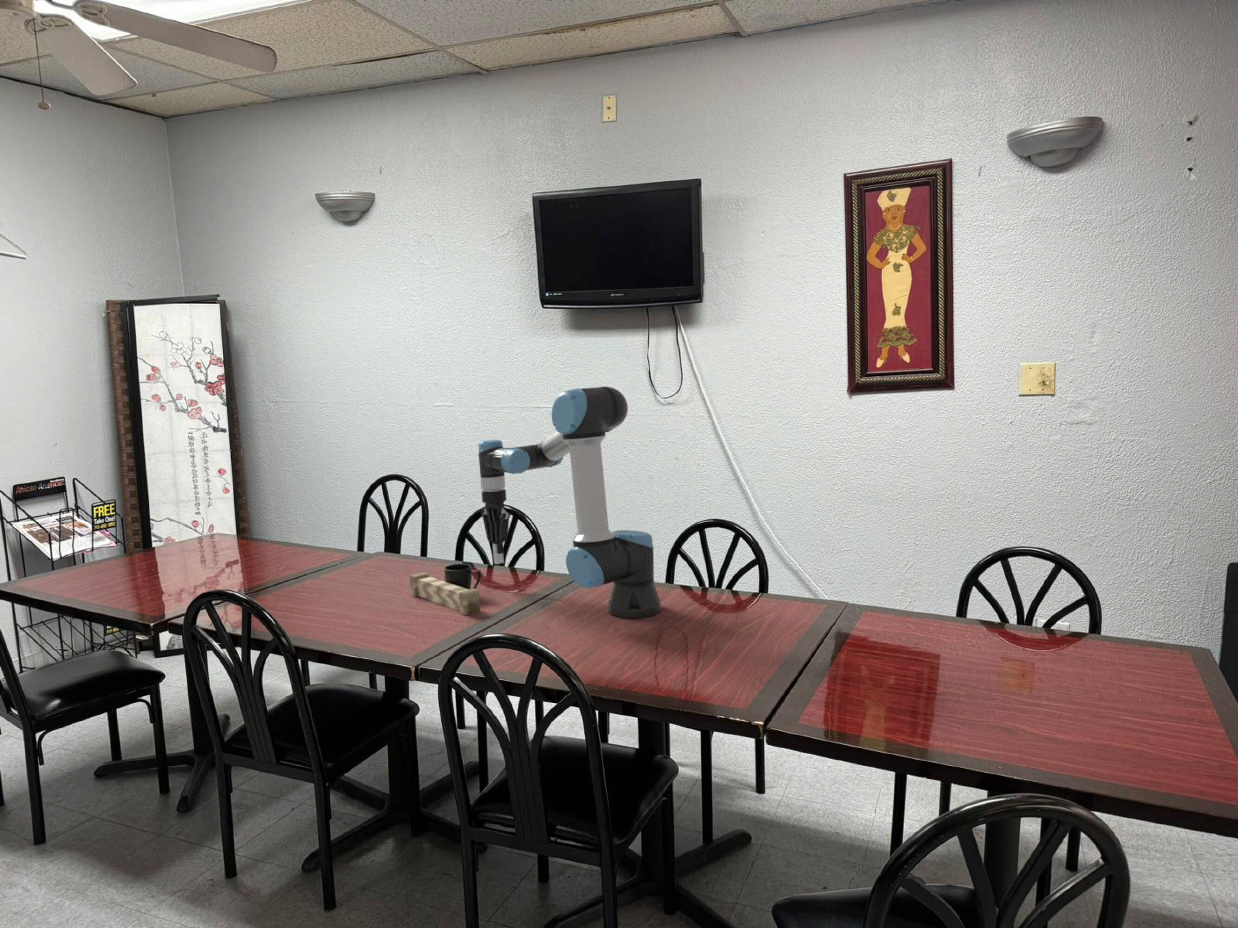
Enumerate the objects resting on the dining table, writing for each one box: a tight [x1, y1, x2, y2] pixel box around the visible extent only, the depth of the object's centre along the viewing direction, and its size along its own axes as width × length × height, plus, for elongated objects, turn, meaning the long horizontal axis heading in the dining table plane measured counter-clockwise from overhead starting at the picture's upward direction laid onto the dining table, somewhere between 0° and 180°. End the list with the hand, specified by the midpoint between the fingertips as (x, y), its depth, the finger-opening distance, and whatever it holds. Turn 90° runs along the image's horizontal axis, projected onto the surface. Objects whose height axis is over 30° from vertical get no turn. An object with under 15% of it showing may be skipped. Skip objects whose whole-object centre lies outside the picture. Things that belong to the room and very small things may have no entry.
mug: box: [443, 563, 482, 590], centre depth 272 cm, size 8×12×10 cm
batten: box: [409, 571, 481, 616], centre depth 267 cm, size 30×5×6 cm, turn 44°
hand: (498, 562), depth 280 cm, fingers closed
